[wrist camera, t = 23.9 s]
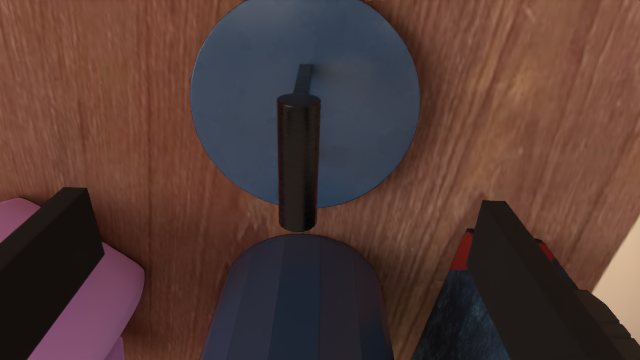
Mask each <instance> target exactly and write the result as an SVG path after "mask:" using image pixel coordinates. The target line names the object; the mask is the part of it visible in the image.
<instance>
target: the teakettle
mask: <svg viewBox="0 0 640 360" xmlns="http://www.w3.org/2000/svg"><path fill="white" fill-rule="evenodd" d="M39 208H41V207H40V206H38V205H36V204H34V203H32V202H30V201H28V200H26V199H23V198H14V199H10V200H5V201H3V202H0V243H1V242H2V241H3V240H4V239H5V238H6V237H8V236H9V235H10V234H11V233H12V232H13V231H14V230H15V229H17V228H18V227H19V226H20V225H21V224H22V223H23V222H25V221H26V220H27V219H28V218H29V217H30V216H31V215H33V214H34V213H35V212H36V211H37V210H38V209H39ZM102 245H103V248H104V252H105V255H104V256H103V258H102V259H101V260H100V262H99V263H98V265H97V266H96V267H95V269H94V270H93V271H92V273H91V274H90V275H89V277H88V278H87V279H86V281H85V282H84V283H83V285H82V286H81V288H80V289H79V290H78V292H77V293H76V294H75V296H74V297H73V298H72V300H71V301H70V302H69V304H68V305H67V306H66V308H65V309H64V311H63V312H62V313H61V315H60V316H59V317H58V319H57V320H56V321H55V323H54V324H53V325H52V327H51V328H50V330H49V331H48V332H47V334H46V335H45V336H44V338H43V339H42V340H41V342H40V343H39V344H38V346H37V347H36V348H35V350H34V351H33V353H32V354H31V355H30V357H29V358H28V359H27V360H125V356H124V347H123V338H122V337H120V335H121V333H122V332H123V330H124V328H125V326H126V325H127V323H128V321H129V320H130V318H131V316H132V315H133V313H134V311H135V309H136V307H137V305H138V303H139V301H140V298H141V295H142V291H143V287H144V282H145V272H144V270H143V268H142V267H141V266H139V265H138V264H137V263H135V262H134V261H132V260H131V259H129V258H128V257H126V256H125V255H123V254H122V253H120V252H118V251H117V250H115V249H114V248H112V247H110V246H109V245H107V244H106V243H104V242H102Z"/></svg>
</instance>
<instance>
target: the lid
mask: <svg viewBox="0 0 640 360" xmlns="http://www.w3.org/2000/svg"><path fill="white" fill-rule="evenodd" d="M420 102H421V101H420V85H419V80H418V74H417V70H416V67H415V64H414V61H413V59H412V56H411V54H410V52H409V50H408V48H407V46H406V44H405V42H404V41H403V40H402V38H401V37H400V35H399V34H398V32H397V31H396V30H395V28H394V27H393V26H392V25H391V24H390V23H389V22H388V21H387V20H386V19H385V18H384V17H383V16H382V15H381V14H380V13H378V12H377V11H376V10H375V9H373V8H372V7H371V6H369V5H368V4H366V3H364V2H363V1H361V0H246V1H244V2H242V3H241V4H239V5H238V6H237V7H235V8H234V9H232V10H231V11H230V12H228V13H227V14H226V15H225V16H224V17H223V18H222V19H221V20H220V21H219V22H218V23H217V24H216V25H215V27H214V28H213V29H212V31H211V32H210V33H209V35H208V36H207V38H206V40H205V41H204V43H203V45H202V47H201V48H200V51H199V53H198V56H197V59H196V61H195V64H194V68H193V73H192V77H191V87H190V104H191V112H192V117H193V122H194V125H195V128H196V131H197V134H198V137H199V139H200V141H201V143H202V145H203V147H204V149H205V151H206V152H207V154H208V156H209V157H210V159H211V160H212V161H213V163H214V164H215V165H216V166H217V167H218V169H219V170H220V171H221V172H222V173H223V174H224V175H225V176H226V177H227V178H228V179H229V180H230V181H232V182H233V183H234V184H236V185H237V186H238V187H240V188H241V189H243V190H244V191H246V192H248V193H249V194H251V195H253V196H255V197H257V198H260V199H262V200H264V201H267V202H270V203H273V204H276V205H279V224H280V225H281V227H283V228H284V229H286V230H288V231H292V232H303V231H307V230H310V229H312V228H313V227H314V226H315V225H316V222H317V208H324V207H330V206H334V205H338V204H342V203H345V202H348V201H350V200H353V199H356V198H358V197H359V196H361V195H363V194H365V193H367V192H369V191H370V190H372V189H373V188H375V187H376V186H378V185H379V184H380V183H381V182H382V181H383V180H385V179H386V178H387V177H388V176H389V175H390V174H391V173H392V171H393V170H394V169H395V168H396V167H397V166H398V164H399V163H400V161H401V160H402V159H403V157H404V156H405V154H406V152H407V150H408V148H409V146H410V145H411V142H412V140H413V137H414V134H415V132H416V128H417V124H418V119H419V113H420Z"/></svg>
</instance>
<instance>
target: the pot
mask: <svg viewBox="0 0 640 360" xmlns="http://www.w3.org/2000/svg"><path fill="white" fill-rule="evenodd" d="M199 360H394V355H393V349H392V343H391V338H390V332H389V326H388V320H387V314H386V309H385V303H384V297H383V292H382V290H381V287H380V283H379V280H378V277H377V275H376V273H375V271H374V269H373V268H372V266H371V265H370V264H369V262H368V261H367V260H366V259H365V258H364V257H363V256H362V255H360V254H359V253H358V252H357V251H355V250H354V249H352V248H351V247H349V246H347V245H345V244H343V243H341V242H339V241H336V240H333V239H330V238H327V237H323V236H318V235H310V234H290V235H282V236H278V237H274V238H270V239H267V240H265V241H262V242H260V243H258V244H256V245H254V246H252V247H251V248H249V249H248V250H246V251H245V252H244V253H243V254H242V255H241V256H239V257H238V258H237V260H236V261H235V262H234V263H233V265H232V266H231V268H230V270H229V272H228V274H227V277H226V279H225V282H224V284H223V286H222V289H221V292H220V295H219V298H218V301H217V305H216V308H215V311H214V314H213V317H212V321H211V324H210V327H209V330H208V333H207V336H206V340H205V343H204V346H203V349H202V352H201V356H200V359H199Z"/></svg>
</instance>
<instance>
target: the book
mask: <svg viewBox="0 0 640 360" xmlns="http://www.w3.org/2000/svg"><path fill="white" fill-rule="evenodd" d="M474 231H475V230H473V229H467V231H466V233H465V235H464V237H463V239H462V241H461V243H460V246H459V248H458V250H457V253H456V255H455V257H454V260H453V262H452V264H451V267H450V269H449V273H448V275H447V277H446V280H445V282H444V284H443V287H442V289H441V291H440V294H439V296H438V298H437V301H436V303H435V305H434V308H433V310H432V312H431V315H430V317H429V319H428V322H427V324H426V326H425V329H424V331H423V333H422V336H421V338H420V341H419V343H418V345H417V348H416V350H415V352H414V355H413V357H412V359H411V360H510V358H509V356H508V354H507V352H506V350H505V347H504V345H503V343H502V341H501V339H500V337H499V335H498V333H497V330H496V328H495V326H494V324H493V322H492V320H491V318H490V316H489V313H488V311H487V309H486V307H485V305H484V303H483V301H482V299H481V296H480V294H479V292H478V290H477V288H476V286H475V284H474V282H473V279H472V277H471V275H470V273H469V271H468V269H467V267H466V261H467V258H468V254H469V250H470V246H471V242H472V238H473V235H474ZM534 240H535V241H536V242H537V244H538V245H539V246H540V248H541V249H542V250H543V251H544V253H545V254H546V255H547V257H548V258H549V259H550V261H551V262H552V263H553V265H554V266H555V267H556V269H557V270H558V271H559V273H560V274H561V275H562V277H563V278H564V279H565V280H566V282H567V283H568V284H569V286H570V287H571V288H572V290H579V289H578V287H577V286H576V285H575V283H574V282H573V281H572V279H571V278H570V277H569V276H568V274H567V273H566V272H565V270H564V269H563V268H562V266H561V265H560V263H559V262H558V261H557V259H556V258H555V257H554V255H553V254H552V253H551V251H550V250H549V248H548V247H547V246H546V244H545V243H543V242H542V240H538V239H534Z"/></svg>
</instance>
